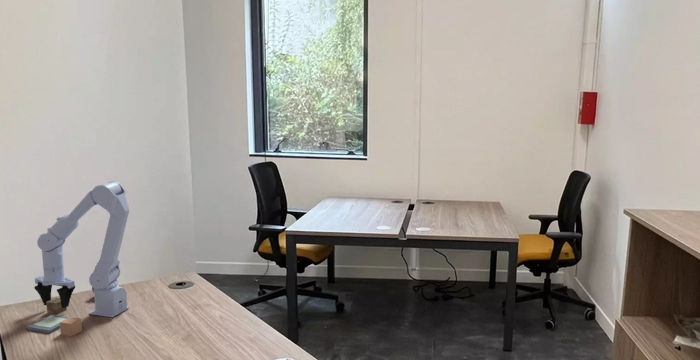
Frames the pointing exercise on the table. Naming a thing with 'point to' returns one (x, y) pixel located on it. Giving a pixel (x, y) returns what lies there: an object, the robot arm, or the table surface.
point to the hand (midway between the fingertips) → (56, 305)
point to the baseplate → (47, 324)
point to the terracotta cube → (70, 326)
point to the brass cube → (55, 306)
